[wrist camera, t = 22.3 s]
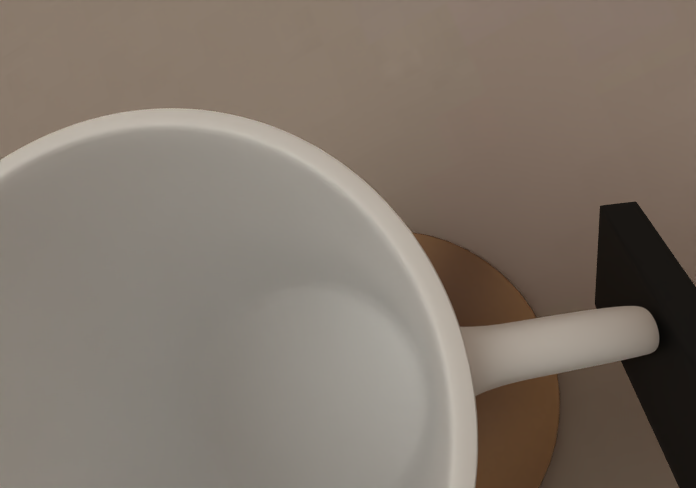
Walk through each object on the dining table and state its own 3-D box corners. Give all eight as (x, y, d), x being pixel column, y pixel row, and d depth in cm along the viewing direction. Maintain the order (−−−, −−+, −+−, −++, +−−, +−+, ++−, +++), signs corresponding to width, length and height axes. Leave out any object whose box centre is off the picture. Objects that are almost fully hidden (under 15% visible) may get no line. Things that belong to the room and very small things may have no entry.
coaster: (179, 479, 24) (174, 481, 24) (306, 190, 26) (303, 186, 25) (486, 633, 22) (487, 638, 21) (604, 302, 23) (608, 301, 23)
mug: (552, 230, 19) (723, -3, 8) (604, 537, 17) (937, 842, 6) (173, 275, 21) (-167, 136, 9) (183, 566, 19) (-233, 861, 7)
